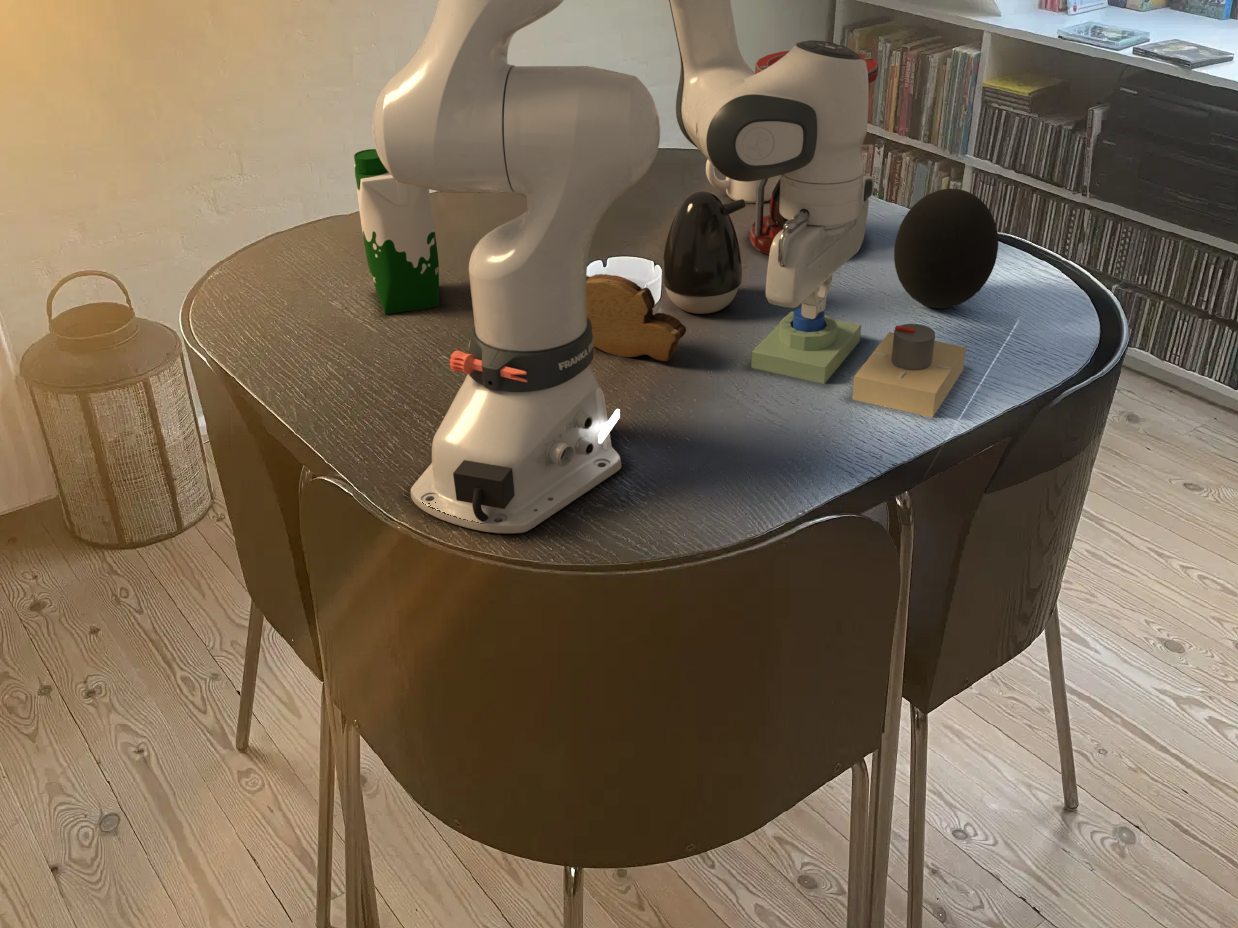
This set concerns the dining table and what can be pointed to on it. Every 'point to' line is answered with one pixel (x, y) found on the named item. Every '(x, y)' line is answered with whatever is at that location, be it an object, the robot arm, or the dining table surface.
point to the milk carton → (397, 237)
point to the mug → (740, 186)
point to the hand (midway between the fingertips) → (813, 313)
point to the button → (808, 322)
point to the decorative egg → (946, 248)
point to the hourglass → (773, 223)
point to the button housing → (806, 349)
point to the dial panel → (908, 379)
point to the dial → (913, 346)
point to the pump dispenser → (702, 254)
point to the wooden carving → (629, 319)
